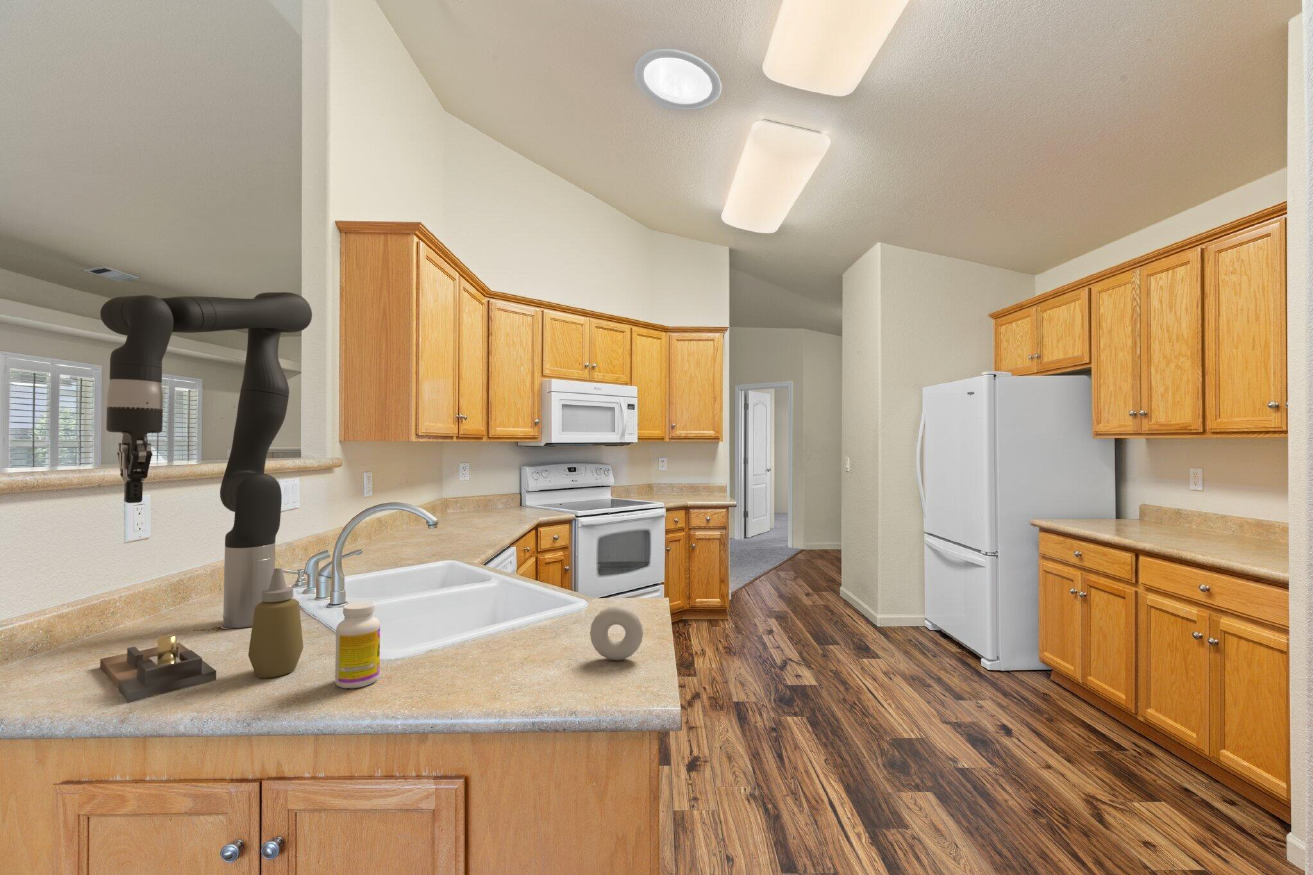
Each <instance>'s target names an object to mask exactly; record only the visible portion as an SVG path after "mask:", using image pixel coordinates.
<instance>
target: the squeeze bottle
mask: <svg viewBox="0 0 1313 875" xmlns="http://www.w3.org/2000/svg"><path fill="white" fill-rule="evenodd" d="M293 597H294V587H292V586H287V583H286V580H285V575H284V571H283V568H282V567H277V568H276V567H275V569H274V571H273V575H272V579H271V582H270V586H269V589H265V590H263V591H262V598H261V600H262V601H263V602H261V603H259V604H258V605H257V606H256V607H255V610H254V617H253V624H252V626H251V634H250V639H249V646H248V652H247V653H248V654H247V655H248V659H249V662H250V664H251V667H252V669H253V672H254V674H255V676H256V677H258V678H267V679H268V678H275V677H279V676H284V675H287V674H289V673H292V672H293V671H295V670H296V668H297V666H298V664H299V661H300V658H301V655H302V653H303V650H304V641H303V631H302V630H303V629H302V628H303V627H302V620H301V617H302V616H301V608H300V607H301V606H300V602H299V601H298V600H297V599H295V598H293Z"/></svg>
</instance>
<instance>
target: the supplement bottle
mask: <svg viewBox="0 0 1313 875" xmlns="http://www.w3.org/2000/svg"><path fill="white" fill-rule="evenodd" d="M342 610H343V611H342V614H343V616H344V619H343V620H341V621H340V622H339V623H338V624H337V625H336V629H335V668H334V671H335V673H334V678H335V679H334V683H335V685H336V686H337V687H339V688H342V689H347V688H350V689H358V688H363V687H366V686H369V685H371V684H374V683H375V682H377V681H378V679H379V677H380V671H381V670H380V669H381V666H380V665H381V663H380V662H381V657H380V656H381V655H380V654H381V622H380V620H379V619H378V618H377V617H375V616H373V615H374V612H375V603H374V602H371V601H357V602H351V603H347V604H345V605H343V608H342Z"/></svg>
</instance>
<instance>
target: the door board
mask: <svg viewBox="0 0 1313 875" xmlns="http://www.w3.org/2000/svg"><path fill="white" fill-rule="evenodd" d="M157 649H158V646H155V647H150V648H145V649H141V650H139V649H138V648H137V647H136V646H130V647H127V648H126V653H122V654H118V655H113V656H108V657H104V658H100V659H99V661H100V662H99V667H100V669H101V670H102V671H103V673H104V674H105V675H106V677H107V678H108V679H109V680H110V681H111V683H112V684H113V685H114V686H115V687H116V689H117V688H118V689H117V690H118V691H119V692H120V694H121V695H122V696H123V697H124V699H125V700H126V699H127V700H126V701H127V702H128V703H132V702H136V701H139V700H140V701H141V700H143V699H147V698H146V697H148V698H152V697H155V696H158V695H161V694H162V695H163V694H168V693H170V691H171V692H174V690H175V691H178V690H181V689H185V688H190V687H193V686H197V685H200V684H206V683H208V682H209V683H210V682H213V681H217V670H216V669H215V668H213V667H212V666H211V665H210V664H208V663H207V662H206V661H204V660H203V657H201V656H200V655H199V654H197V653H196V652H195V651H193V650H192V649H189V648H187V647H186V646H185V645H183V644H182V643H181V642H177V643H176V657H177V658H179V659H180V660H181V662H176V663H172V664H168V665H163V666H159V667H158V666H157V665H156V664H155V663H154V662H153V661H152V660H151V659H149V658H150V657H154V656H157ZM189 686H190V687H189ZM154 695H155V696H154ZM151 696H152V697H151Z"/></svg>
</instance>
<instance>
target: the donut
mask: <svg viewBox="0 0 1313 875" xmlns="http://www.w3.org/2000/svg"><path fill="white" fill-rule="evenodd" d="M615 625H619V626H621V627H622V628H623V630H624V631H625V632H624V633H625V634H624V636H623V638H622V639H621V640H618V641H616V640H613V639H612V638H610V636H609V630H610V628H611V627H612V626H615ZM589 634H590V635H589V636H590V643H591V644H592V646H593V648H594V650H595V651H596V653H598V654H599V655H600V656H601V657H602V658H605V659H607V660H612V661H621V660H622V661H623V660H626V659H627V658H629V657H632V656H633V655H634V654H635V653H636V652H637V651H638V649H639V648H640V646H641V645H642V642H643V638H644V630H643V624H642V622H641V620H640V618H639V617H638V615H637V614H636V613H635V612H634V611H633V610H631V609H630V608H628V607H625V606H622V605H621V606H620V605H615V606H608V607H606V608H604V609H602V610H601V611H600V612H598V614H597V615H596V616H595V617H594V618H593V620H592V623H591V625H590V631H589Z"/></svg>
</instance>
